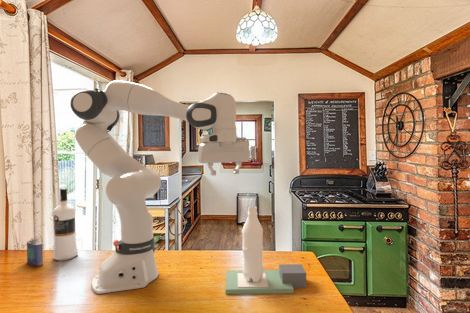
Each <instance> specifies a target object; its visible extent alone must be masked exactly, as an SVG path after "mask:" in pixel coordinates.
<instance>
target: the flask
mask: <svg viewBox="0 0 470 313" xmlns="http://www.w3.org/2000/svg"><path fill="white" fill-rule="evenodd" d="M26 251H27V252H26V254H27V255H26V263H27V264H28V265H31V266H33V267H41V266H44V259H43V242H38V241H37V237H35V238H32V237H31V238H30V240H27V241H26Z"/></svg>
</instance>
